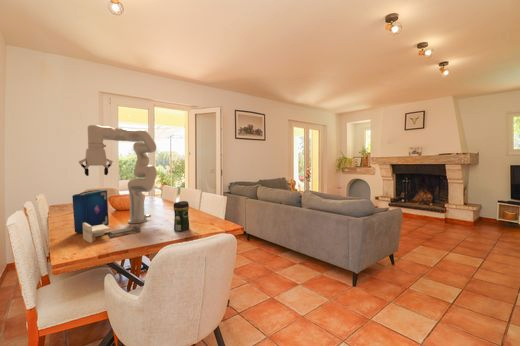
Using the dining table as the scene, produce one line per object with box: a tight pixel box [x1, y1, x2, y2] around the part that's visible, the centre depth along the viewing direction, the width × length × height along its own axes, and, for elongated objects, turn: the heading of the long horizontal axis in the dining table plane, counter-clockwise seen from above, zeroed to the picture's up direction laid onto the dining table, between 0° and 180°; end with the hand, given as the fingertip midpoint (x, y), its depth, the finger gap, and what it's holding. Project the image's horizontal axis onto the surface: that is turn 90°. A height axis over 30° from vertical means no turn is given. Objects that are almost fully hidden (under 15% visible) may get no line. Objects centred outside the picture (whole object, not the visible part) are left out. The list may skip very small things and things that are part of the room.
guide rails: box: [103, 229, 142, 239], centre depth 158 cm, size 18×10×1 cm, turn 138°
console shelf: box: [82, 223, 111, 244], centre depth 147 cm, size 10×12×9 cm
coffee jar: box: [173, 200, 190, 232], centre depth 165 cm, size 10×8×19 cm
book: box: [71, 189, 110, 234], centre depth 166 cm, size 22×7×25 cm, turn 168°
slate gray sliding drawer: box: [108, 224, 141, 236], centre depth 159 cm, size 16×7×3 cm, turn 141°
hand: (96, 175), depth 152 cm, fingers open, 9 cm apart
